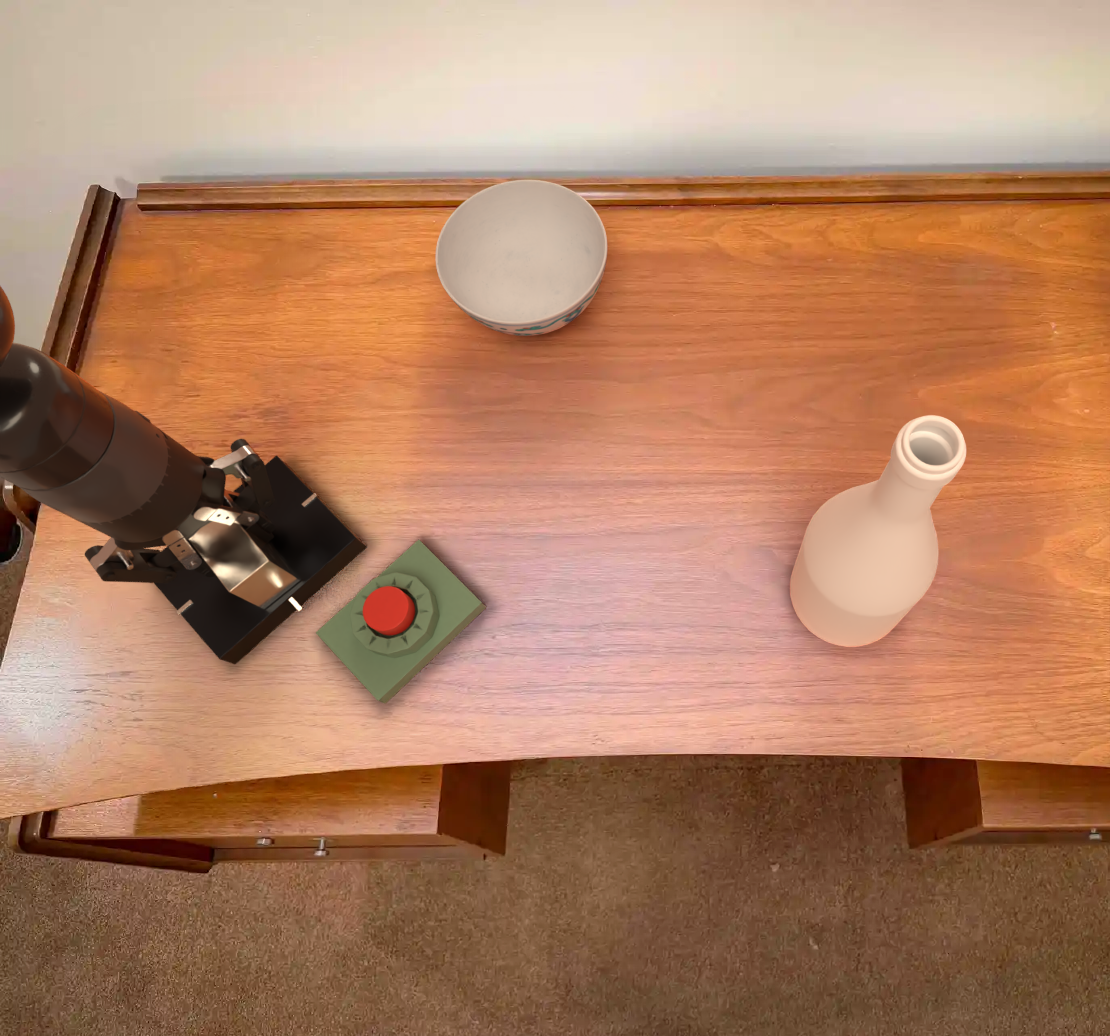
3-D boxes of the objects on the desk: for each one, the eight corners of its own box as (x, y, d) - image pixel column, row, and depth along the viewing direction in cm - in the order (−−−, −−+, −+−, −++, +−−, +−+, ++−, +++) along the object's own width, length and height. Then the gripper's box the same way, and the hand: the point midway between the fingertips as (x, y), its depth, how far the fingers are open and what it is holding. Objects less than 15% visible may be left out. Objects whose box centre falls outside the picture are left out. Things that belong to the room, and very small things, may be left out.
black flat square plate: (245, 679, 71) (229, 673, 68) (146, 565, 74) (127, 555, 72) (380, 558, 74) (368, 548, 72) (279, 454, 78) (265, 441, 75)
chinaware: (427, 321, 82) (400, 272, 75) (520, 211, 86) (503, 154, 79) (556, 396, 79) (541, 352, 72) (646, 277, 83) (640, 225, 76)
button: (390, 645, 69) (382, 640, 67) (361, 614, 69) (352, 609, 68) (424, 612, 69) (417, 607, 68) (395, 582, 70) (388, 576, 69)
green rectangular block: (385, 704, 70) (369, 698, 67) (323, 637, 72) (305, 627, 69) (486, 607, 73) (476, 597, 69) (424, 545, 75) (411, 532, 71)
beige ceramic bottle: (792, 651, 71) (849, 532, 43) (785, 540, 74) (834, 362, 46) (908, 648, 71) (1042, 527, 43) (896, 538, 74) (1014, 357, 46)
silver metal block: (300, 580, 71) (267, 559, 66) (264, 609, 70) (227, 591, 65) (233, 498, 74) (196, 471, 68) (197, 525, 73) (157, 501, 68)
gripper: (34, 581, 53) (193, 640, 69) (232, 435, 56) (340, 524, 72) (-23, 497, 55) (145, 573, 71) (171, 360, 58) (290, 463, 74)
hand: (243, 548), depth 71 cm, fingers closed on silver metal block, 3 cm apart
